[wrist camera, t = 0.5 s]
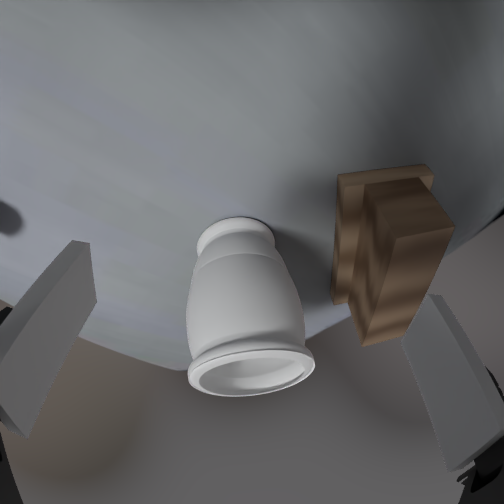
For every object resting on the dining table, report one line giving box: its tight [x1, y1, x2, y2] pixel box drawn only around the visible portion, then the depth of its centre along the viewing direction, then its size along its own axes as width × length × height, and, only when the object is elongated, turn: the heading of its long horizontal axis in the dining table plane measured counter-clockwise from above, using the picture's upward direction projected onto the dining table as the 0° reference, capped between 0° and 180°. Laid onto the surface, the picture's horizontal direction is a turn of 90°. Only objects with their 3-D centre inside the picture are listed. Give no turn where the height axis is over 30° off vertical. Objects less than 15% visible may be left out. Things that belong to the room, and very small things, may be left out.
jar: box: [186, 217, 315, 396], centre depth 29 cm, size 11×10×15 cm
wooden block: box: [330, 164, 455, 347], centre depth 33 cm, size 20×10×9 cm, turn 8°
